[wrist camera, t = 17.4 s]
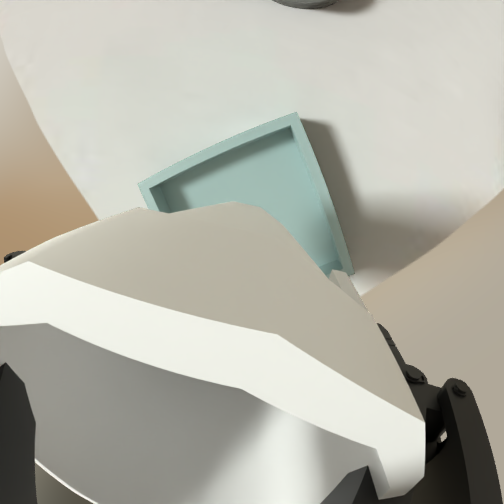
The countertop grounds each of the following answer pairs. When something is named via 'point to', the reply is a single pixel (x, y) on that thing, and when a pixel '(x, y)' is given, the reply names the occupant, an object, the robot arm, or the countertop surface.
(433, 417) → the robot arm
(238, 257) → the foam cup
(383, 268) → the countertop surface
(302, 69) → the countertop surface
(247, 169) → the tray
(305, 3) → the crank base
